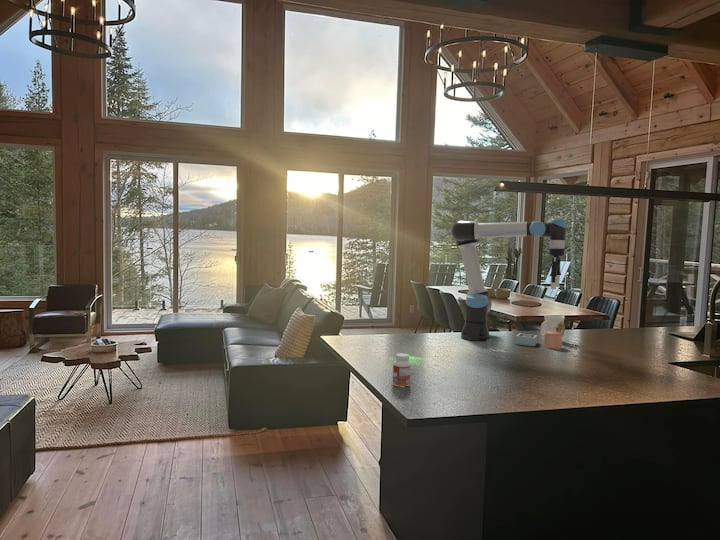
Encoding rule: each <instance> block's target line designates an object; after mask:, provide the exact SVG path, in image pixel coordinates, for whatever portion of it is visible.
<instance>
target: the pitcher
mask: <svg viewBox="0 0 720 540" xmlns="http://www.w3.org/2000/svg"><path fill="white" fill-rule="evenodd" d="M565 316H566V315H565V314H551V315H550V314H549V315H544V321H543V322H542V323H541V324H540V333H541V335H542V336H543V338H545V332H547V331H553V332H560V333H562V335H563V336H562V339H563V338H564V336H565V331H566V330H565V329H566V327H565V322H564V321H565V319H566V317H565Z"/></svg>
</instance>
